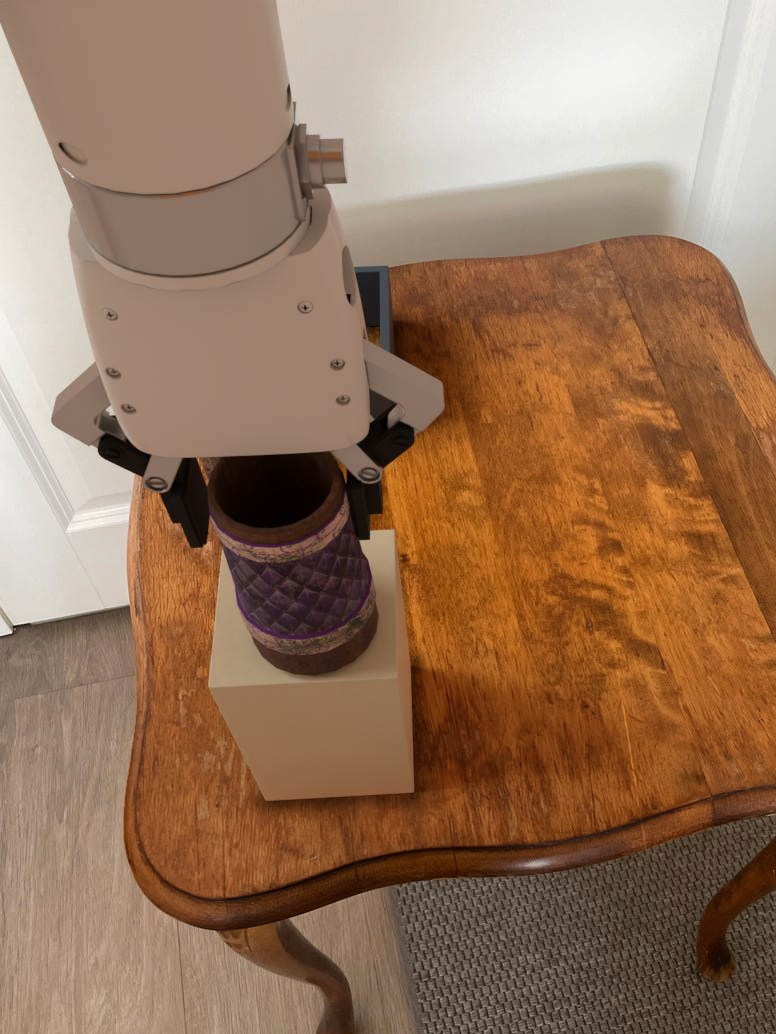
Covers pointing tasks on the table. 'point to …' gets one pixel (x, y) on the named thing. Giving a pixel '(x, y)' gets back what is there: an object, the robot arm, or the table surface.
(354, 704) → the block
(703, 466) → the table surface
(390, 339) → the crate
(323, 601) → the mug
